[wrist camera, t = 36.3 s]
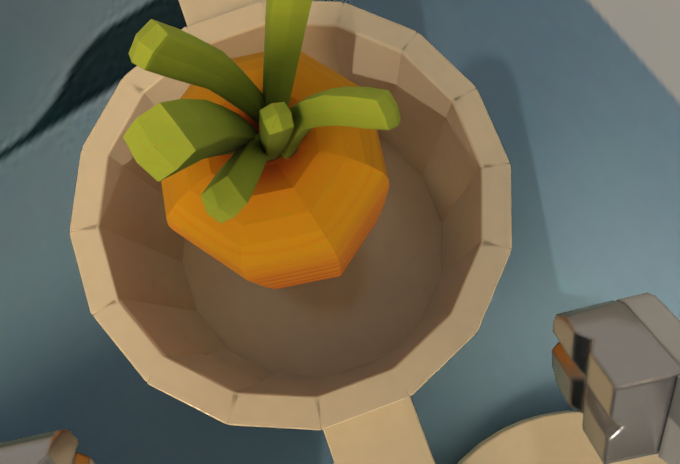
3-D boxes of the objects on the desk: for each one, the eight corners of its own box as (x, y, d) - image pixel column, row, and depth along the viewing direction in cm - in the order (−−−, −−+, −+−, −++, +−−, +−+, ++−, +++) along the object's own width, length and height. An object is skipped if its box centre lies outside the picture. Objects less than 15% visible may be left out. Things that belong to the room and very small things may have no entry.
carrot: (330, 159, 22) (271, -210, 7) (401, 261, 21) (503, 79, 6) (225, 228, 21) (-69, -14, 7) (293, 334, 21) (130, 324, 6)
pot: (374, 17, 24) (381, -129, 16) (534, 403, 20) (635, 440, 13) (118, 106, 23) (6, -2, 16) (240, 514, 20) (170, 618, 12)
